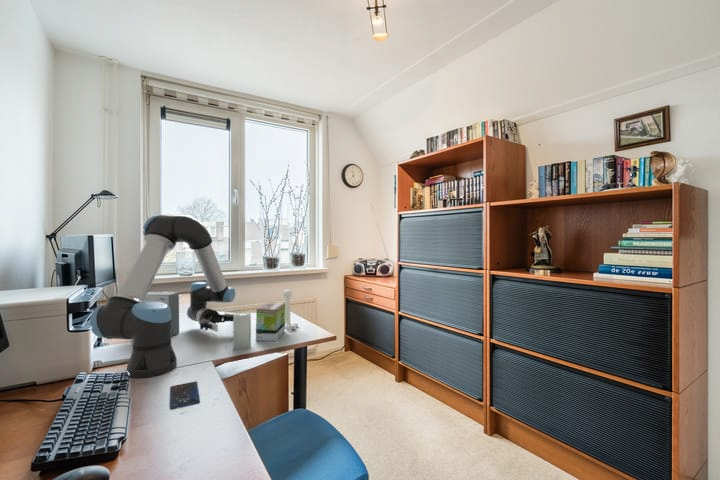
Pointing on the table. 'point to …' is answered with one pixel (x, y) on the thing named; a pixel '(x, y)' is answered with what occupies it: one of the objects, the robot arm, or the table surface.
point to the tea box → (270, 321)
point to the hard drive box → (170, 300)
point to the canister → (241, 331)
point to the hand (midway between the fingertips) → (231, 324)
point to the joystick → (288, 311)
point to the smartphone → (184, 395)
